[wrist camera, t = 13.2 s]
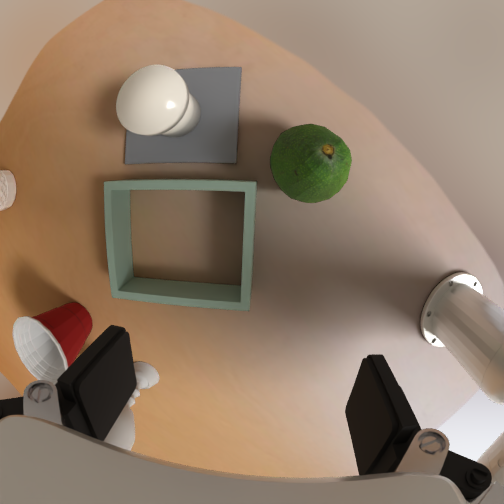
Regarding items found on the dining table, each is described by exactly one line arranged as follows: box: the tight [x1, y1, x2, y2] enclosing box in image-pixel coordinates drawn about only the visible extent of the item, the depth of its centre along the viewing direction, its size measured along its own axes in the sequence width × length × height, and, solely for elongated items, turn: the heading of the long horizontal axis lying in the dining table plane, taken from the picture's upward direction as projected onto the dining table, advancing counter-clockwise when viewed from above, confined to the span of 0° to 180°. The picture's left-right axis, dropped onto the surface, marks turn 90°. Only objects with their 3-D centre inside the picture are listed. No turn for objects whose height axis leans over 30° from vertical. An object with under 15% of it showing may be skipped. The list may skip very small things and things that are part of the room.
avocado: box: [270, 124, 352, 203], centre depth 26 cm, size 8×8×12 cm
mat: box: [125, 67, 242, 164], centre depth 31 cm, size 14×12×1 cm
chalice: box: [103, 361, 159, 451], centre depth 33 cm, size 7×7×18 cm
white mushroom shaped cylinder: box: [116, 65, 201, 138], centre depth 26 cm, size 7×7×9 cm
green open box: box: [104, 179, 257, 311], centre depth 33 cm, size 17×14×5 cm
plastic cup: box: [13, 302, 92, 385], centre depth 34 cm, size 11×11×12 cm
